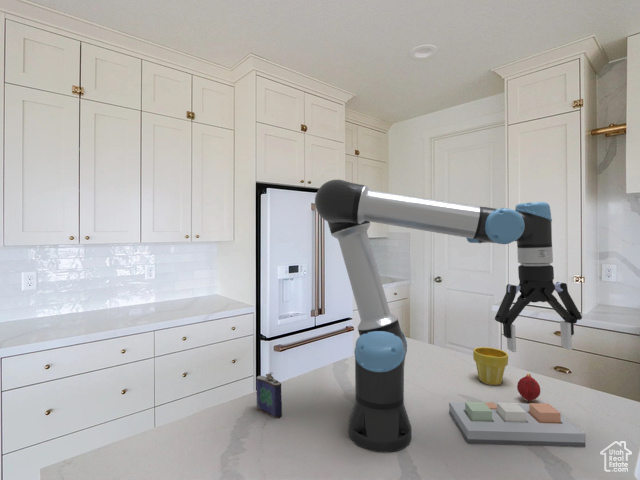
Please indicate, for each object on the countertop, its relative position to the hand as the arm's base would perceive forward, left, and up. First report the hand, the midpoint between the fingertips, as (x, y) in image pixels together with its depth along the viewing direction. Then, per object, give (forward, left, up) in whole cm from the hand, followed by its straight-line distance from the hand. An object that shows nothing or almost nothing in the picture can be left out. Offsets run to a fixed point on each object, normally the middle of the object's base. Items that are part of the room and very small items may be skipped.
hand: (539, 349), depth 87 cm
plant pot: (0, +28, -20) cm, 34 cm away
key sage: (-15, -1, -17) cm, 23 cm away
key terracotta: (+1, -1, -17) cm, 17 cm away
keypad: (-7, -1, -20) cm, 21 cm away
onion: (+5, +14, -20) cm, 25 cm away
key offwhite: (-7, -1, -17) cm, 19 cm away
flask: (-69, +4, -20) cm, 72 cm away
